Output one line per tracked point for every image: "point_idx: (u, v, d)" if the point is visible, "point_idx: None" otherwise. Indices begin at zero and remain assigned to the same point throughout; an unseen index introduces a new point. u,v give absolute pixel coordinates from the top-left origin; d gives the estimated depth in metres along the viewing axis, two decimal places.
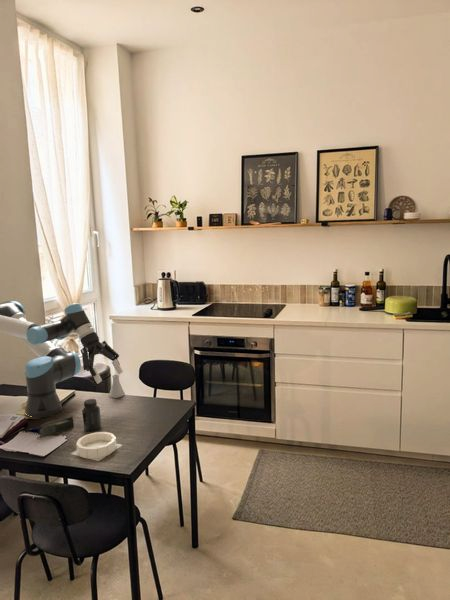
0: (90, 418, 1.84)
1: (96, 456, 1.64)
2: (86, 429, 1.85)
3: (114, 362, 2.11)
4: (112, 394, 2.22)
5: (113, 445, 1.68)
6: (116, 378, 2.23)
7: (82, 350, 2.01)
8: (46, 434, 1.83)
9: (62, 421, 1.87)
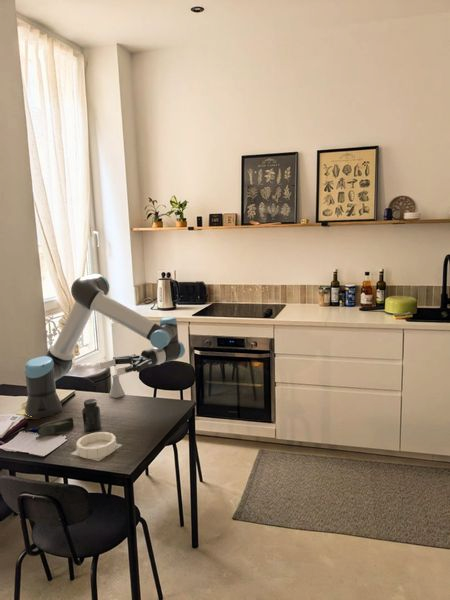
0: (90, 418, 1.84)
1: (96, 456, 1.64)
2: (86, 429, 1.85)
3: (113, 363, 1.99)
4: (112, 394, 2.22)
5: (113, 445, 1.68)
6: (116, 378, 2.23)
7: (150, 362, 1.96)
8: (45, 434, 1.83)
9: (62, 422, 1.86)
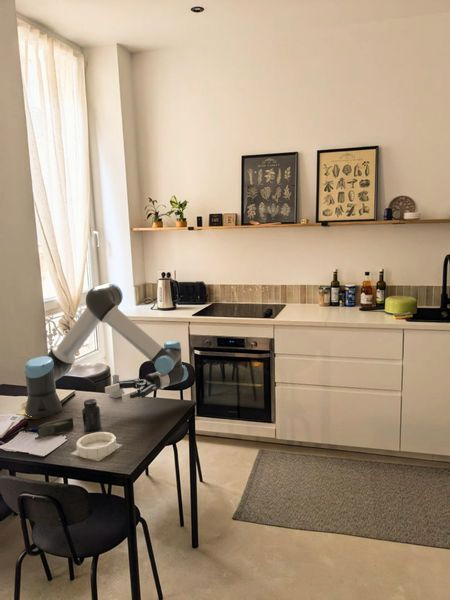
0: (90, 418, 1.84)
1: (96, 456, 1.64)
2: (86, 429, 1.85)
3: (117, 387, 2.01)
4: (112, 394, 2.22)
5: (113, 445, 1.68)
6: (116, 378, 2.23)
7: (154, 387, 1.98)
8: (44, 434, 1.83)
9: (61, 422, 1.86)
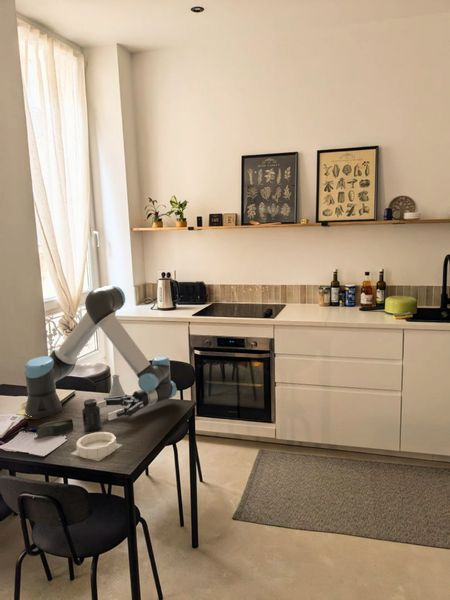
0: (90, 418, 1.84)
1: (96, 456, 1.64)
2: (86, 429, 1.85)
3: (104, 404, 1.97)
4: (112, 394, 2.22)
5: (113, 445, 1.68)
6: (116, 378, 2.23)
7: (142, 405, 1.94)
8: (43, 435, 1.82)
9: (60, 423, 1.85)
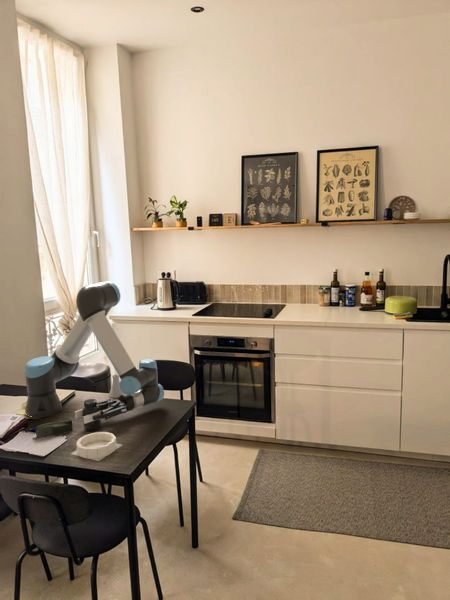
0: None
1: (96, 456, 1.64)
2: (86, 429, 1.85)
3: None
4: (112, 394, 2.22)
5: (113, 445, 1.68)
6: (116, 378, 2.23)
7: (124, 410, 1.90)
8: (42, 435, 1.82)
9: (59, 424, 1.84)
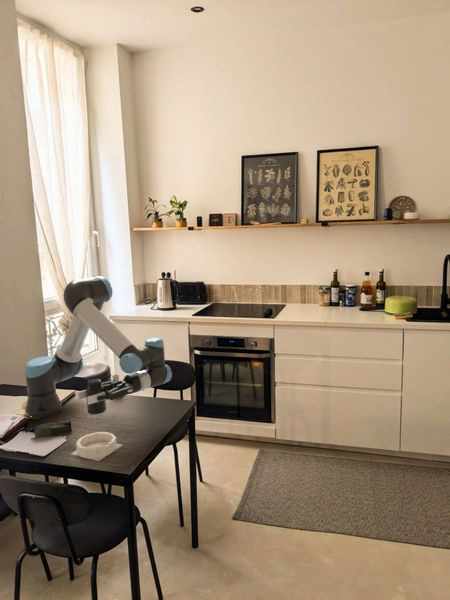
0: None
1: (96, 456, 1.64)
2: (90, 411, 1.73)
3: None
4: None
5: (113, 445, 1.68)
6: (116, 378, 2.23)
7: (130, 390, 1.77)
8: (40, 436, 1.82)
9: (58, 425, 1.83)
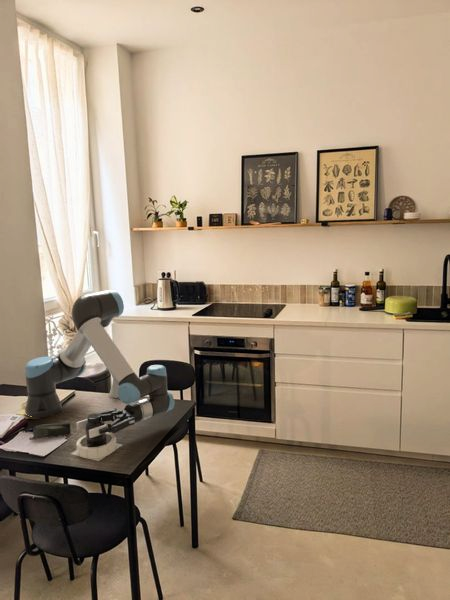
0: None
1: (96, 456, 1.64)
2: None
3: None
4: (112, 394, 2.22)
5: (113, 445, 1.68)
6: None
7: (132, 421, 1.72)
8: (39, 436, 1.81)
9: (56, 426, 1.82)
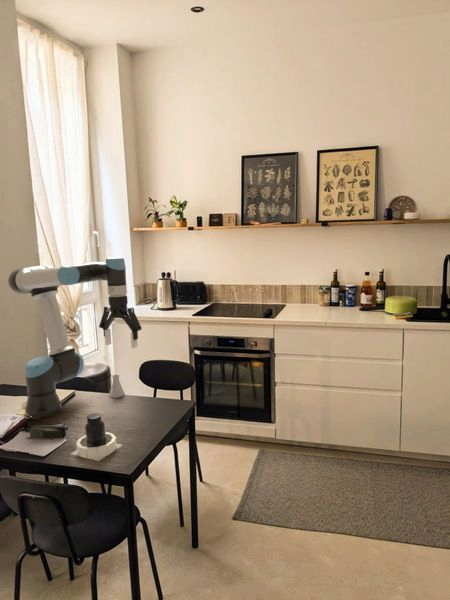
0: (94, 435, 1.66)
1: (96, 456, 1.64)
2: None
3: None
4: (112, 394, 2.22)
5: (113, 445, 1.68)
6: (116, 378, 2.23)
7: None
8: (34, 437, 1.81)
9: (50, 428, 1.80)
